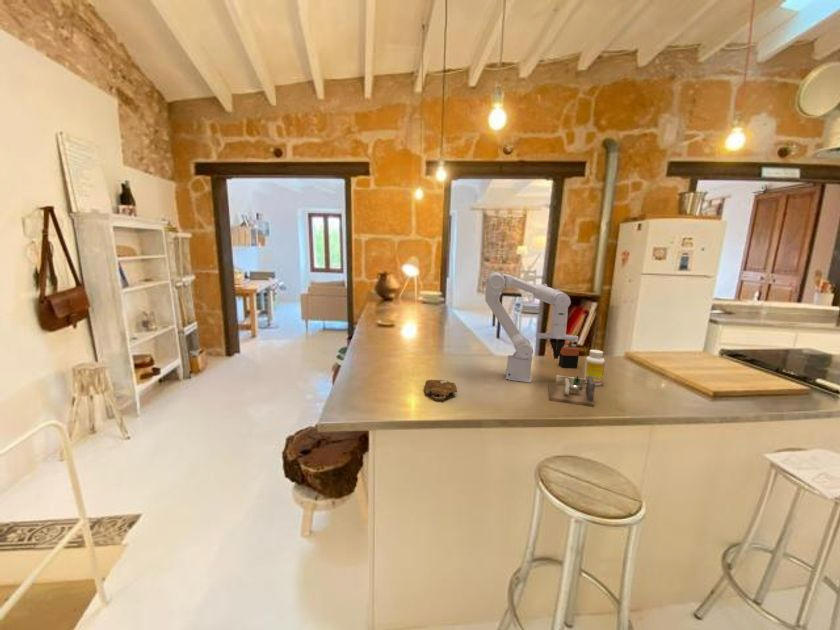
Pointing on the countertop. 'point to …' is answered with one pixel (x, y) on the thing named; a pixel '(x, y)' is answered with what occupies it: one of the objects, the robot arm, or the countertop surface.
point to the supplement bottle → (595, 366)
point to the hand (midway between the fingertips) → (555, 358)
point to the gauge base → (573, 391)
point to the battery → (569, 356)
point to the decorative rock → (439, 388)
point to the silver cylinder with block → (571, 386)
